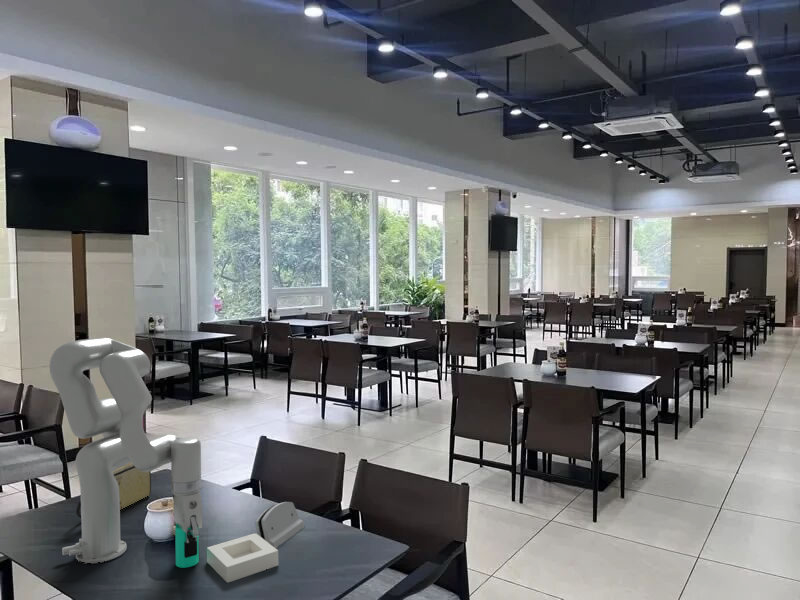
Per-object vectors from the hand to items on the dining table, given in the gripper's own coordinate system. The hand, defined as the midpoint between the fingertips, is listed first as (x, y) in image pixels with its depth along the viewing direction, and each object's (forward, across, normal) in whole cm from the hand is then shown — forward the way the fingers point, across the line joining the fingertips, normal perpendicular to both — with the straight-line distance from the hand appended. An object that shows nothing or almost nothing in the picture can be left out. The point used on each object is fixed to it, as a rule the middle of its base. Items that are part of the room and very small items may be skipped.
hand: (187, 551), depth 154 cm
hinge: (+3, -1, -27) cm, 27 cm away
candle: (+3, 0, 0) cm, 3 cm away
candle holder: (+3, -10, -11) cm, 15 cm away
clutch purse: (+4, +52, +6) cm, 53 cm away
